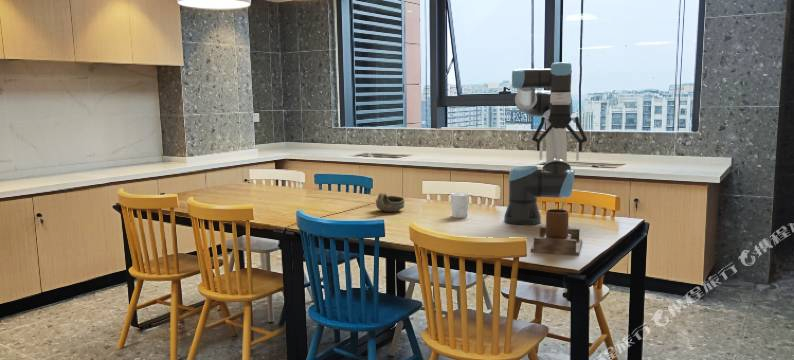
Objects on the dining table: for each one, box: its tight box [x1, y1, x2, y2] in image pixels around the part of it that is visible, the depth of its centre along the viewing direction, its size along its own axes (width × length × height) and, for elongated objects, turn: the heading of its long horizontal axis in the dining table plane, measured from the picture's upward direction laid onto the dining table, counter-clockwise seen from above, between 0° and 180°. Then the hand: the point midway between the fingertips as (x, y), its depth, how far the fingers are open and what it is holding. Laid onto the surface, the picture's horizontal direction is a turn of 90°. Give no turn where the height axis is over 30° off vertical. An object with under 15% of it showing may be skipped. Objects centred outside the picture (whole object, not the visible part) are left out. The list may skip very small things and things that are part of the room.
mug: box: [545, 208, 570, 239], centre depth 224 cm, size 12×8×9 cm, turn 152°
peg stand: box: [530, 226, 583, 256], centre depth 225 cm, size 16×19×5 cm
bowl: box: [374, 192, 405, 213], centre depth 292 cm, size 14×18×10 cm
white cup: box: [450, 192, 470, 219], centre depth 280 cm, size 8×8×10 cm
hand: (558, 159), depth 242 cm, fingers open, 13 cm apart
